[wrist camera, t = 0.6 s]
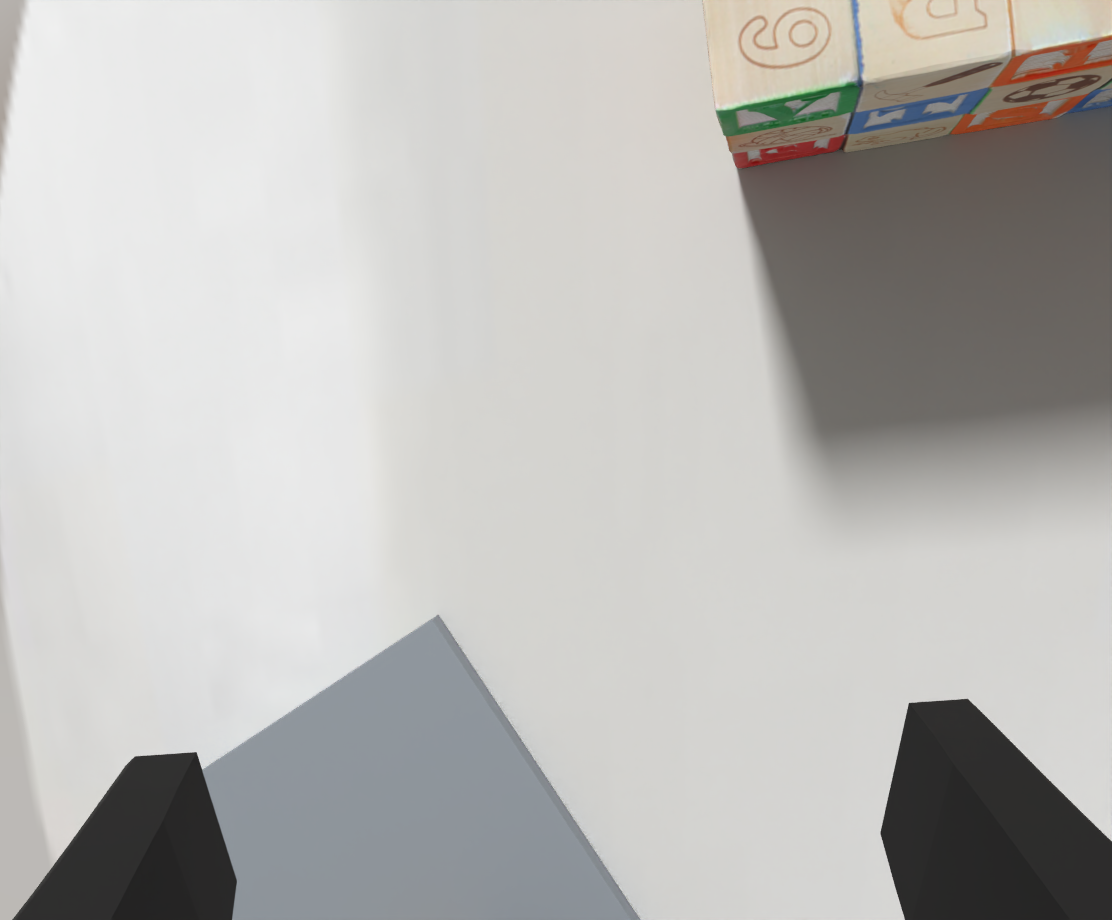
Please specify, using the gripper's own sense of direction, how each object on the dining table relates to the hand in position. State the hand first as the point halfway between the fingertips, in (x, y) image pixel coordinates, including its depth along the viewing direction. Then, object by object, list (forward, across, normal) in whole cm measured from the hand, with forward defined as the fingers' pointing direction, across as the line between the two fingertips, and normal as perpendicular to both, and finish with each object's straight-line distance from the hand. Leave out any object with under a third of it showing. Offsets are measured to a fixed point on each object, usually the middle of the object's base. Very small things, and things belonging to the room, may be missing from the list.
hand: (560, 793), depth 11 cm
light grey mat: (+14, +4, +25) cm, 29 cm away
